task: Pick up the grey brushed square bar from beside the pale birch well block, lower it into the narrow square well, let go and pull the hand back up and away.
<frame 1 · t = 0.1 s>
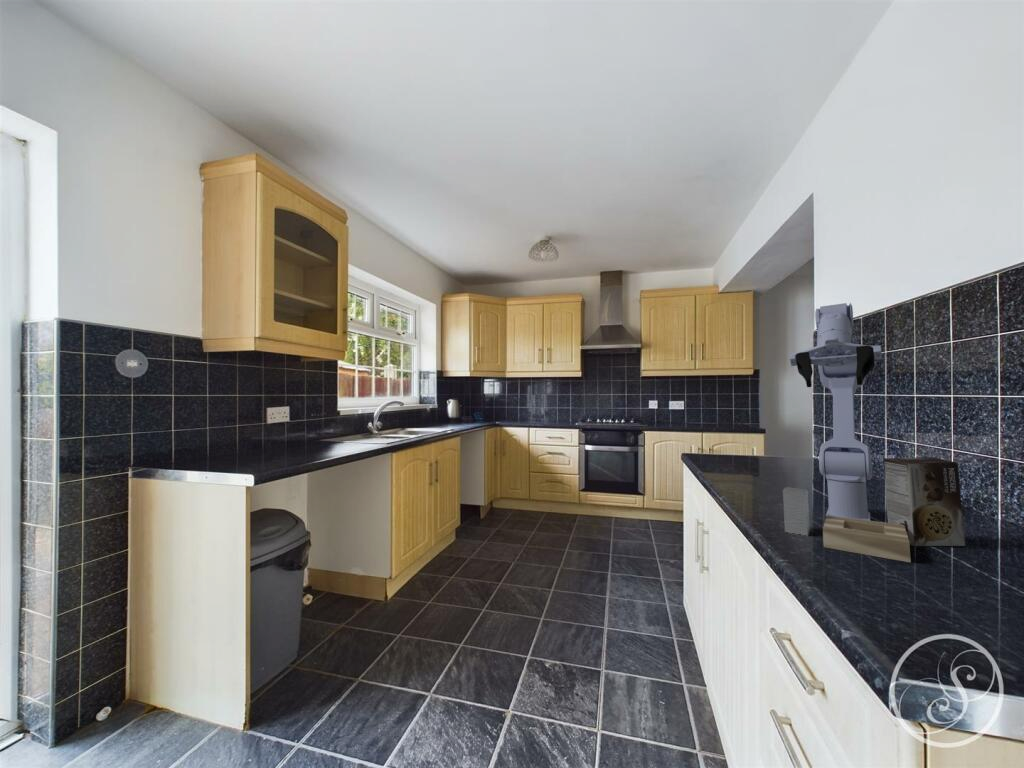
hand: (833, 382, 78), 32 cm above the table, tool tilted 50°, fingers open, 7 cm apart
coffee box: (924, 542, 80), on the table
well block: (864, 545, 78), on the table
grey brushed square bar: (797, 531, 87), on the table
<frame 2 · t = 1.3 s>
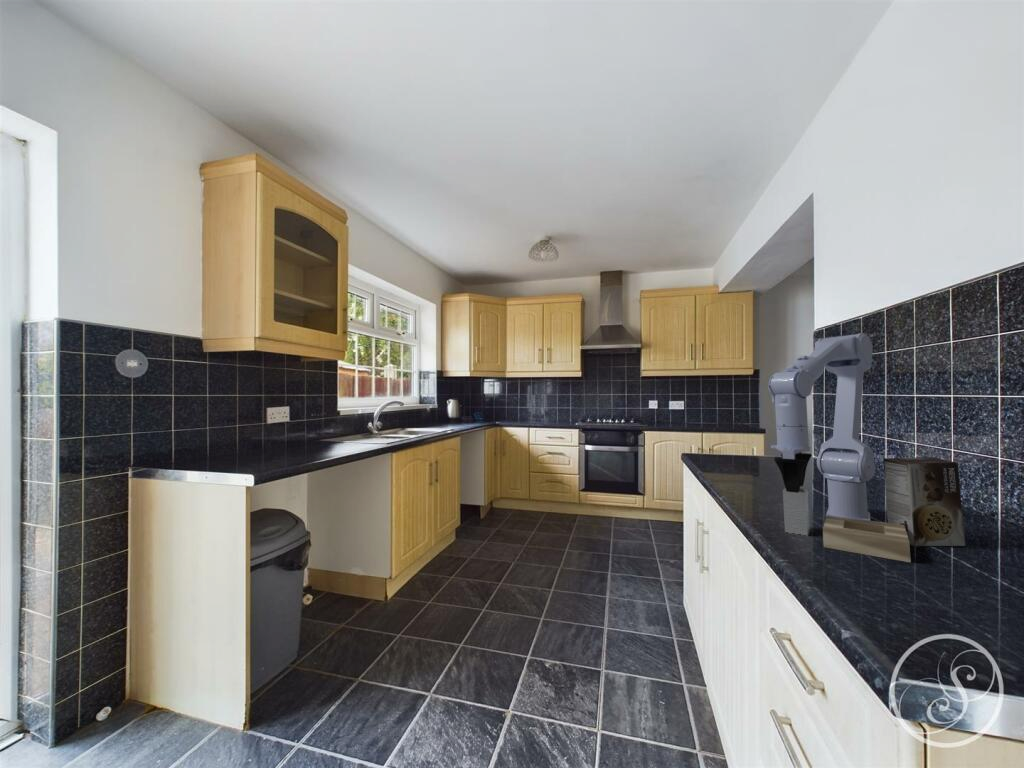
hand: (795, 488, 88), 9 cm above the table, tool pointing down, fingers open, 7 cm apart
nothing on the table moved.
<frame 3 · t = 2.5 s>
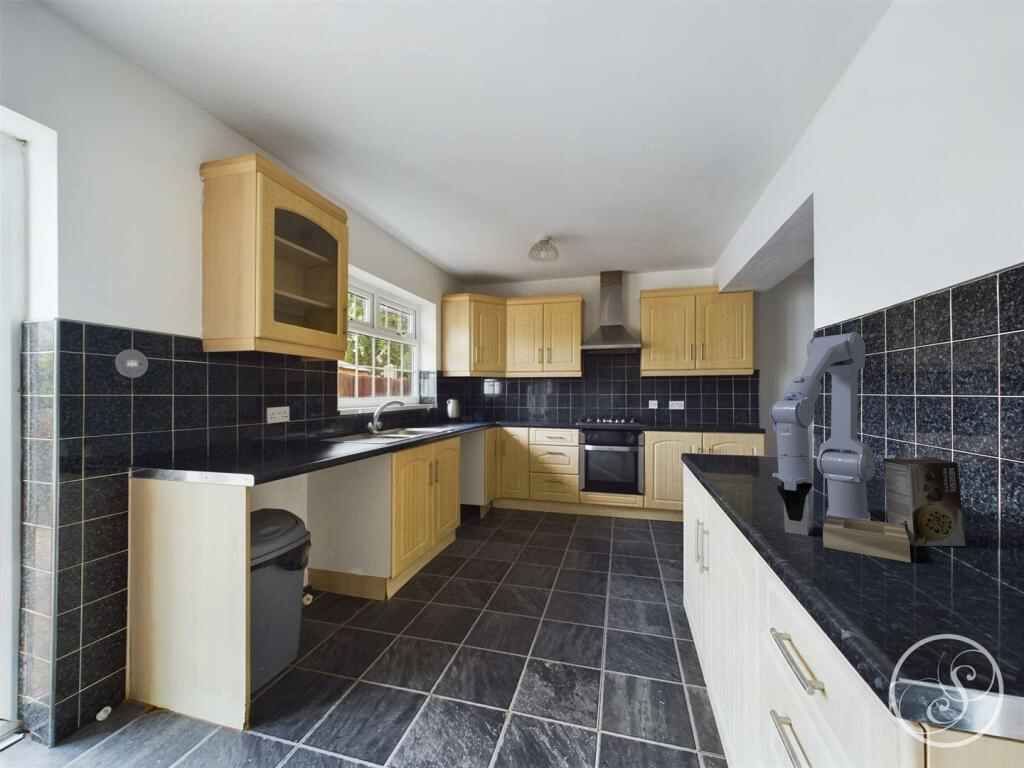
hand: (796, 518, 87), 3 cm above the table, tool pointing down, fingers closed on grey brushed square bar, 4 cm apart
grey brushed square bar: (797, 531, 87), on the table, touching gripper
everything else where it was.
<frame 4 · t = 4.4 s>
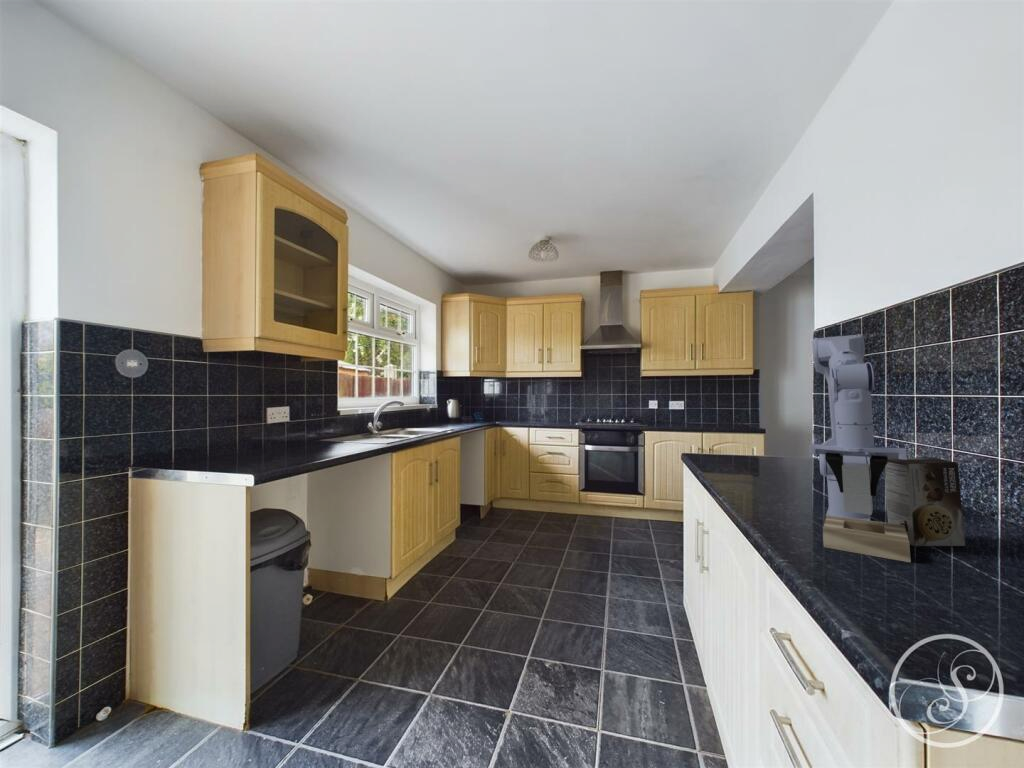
hand: (857, 493, 79), 10 cm above the table, tool pointing down, fingers closed on grey brushed square bar, 4 cm apart
grey brushed square bar: (858, 510, 79), point 7 cm above the table, touching gripper
everything else where it was.
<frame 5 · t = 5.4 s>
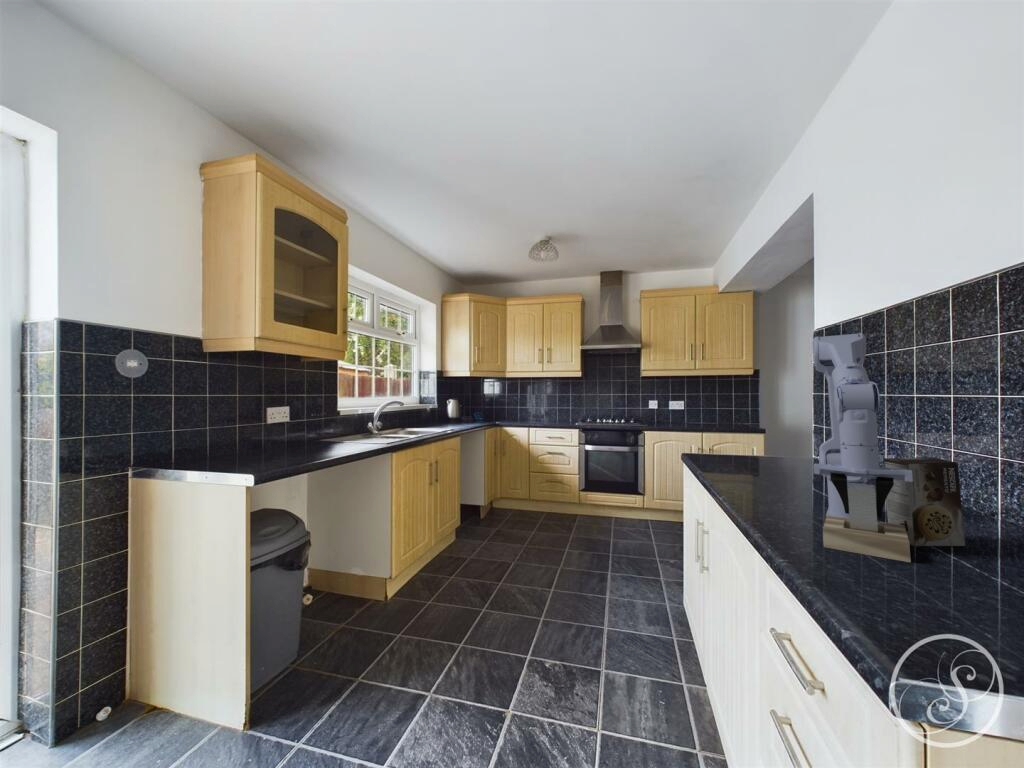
hand: (862, 514, 79), 6 cm above the table, tool pointing down, fingers closed on grey brushed square bar, 4 cm apart
grey brushed square bar: (864, 532, 78), point 3 cm above the table, touching gripper
everything else where it was.
when the fingers open (4 cm above the table, at t = 6.2 s): grey brushed square bar drops 1 cm, resting in well block.
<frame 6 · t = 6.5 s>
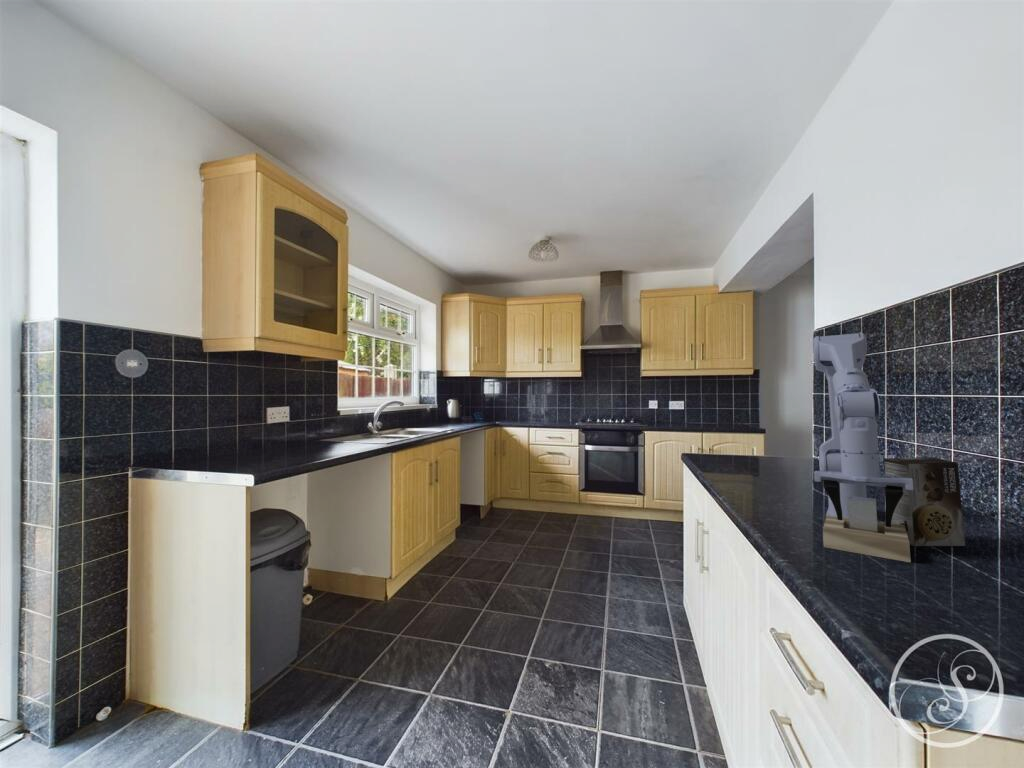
hand: (863, 522, 79), 4 cm above the table, tool pointing down, fingers open, 6 cm apart
grey brushed square bar: (864, 545, 78), resting in well block
everything else where it was.
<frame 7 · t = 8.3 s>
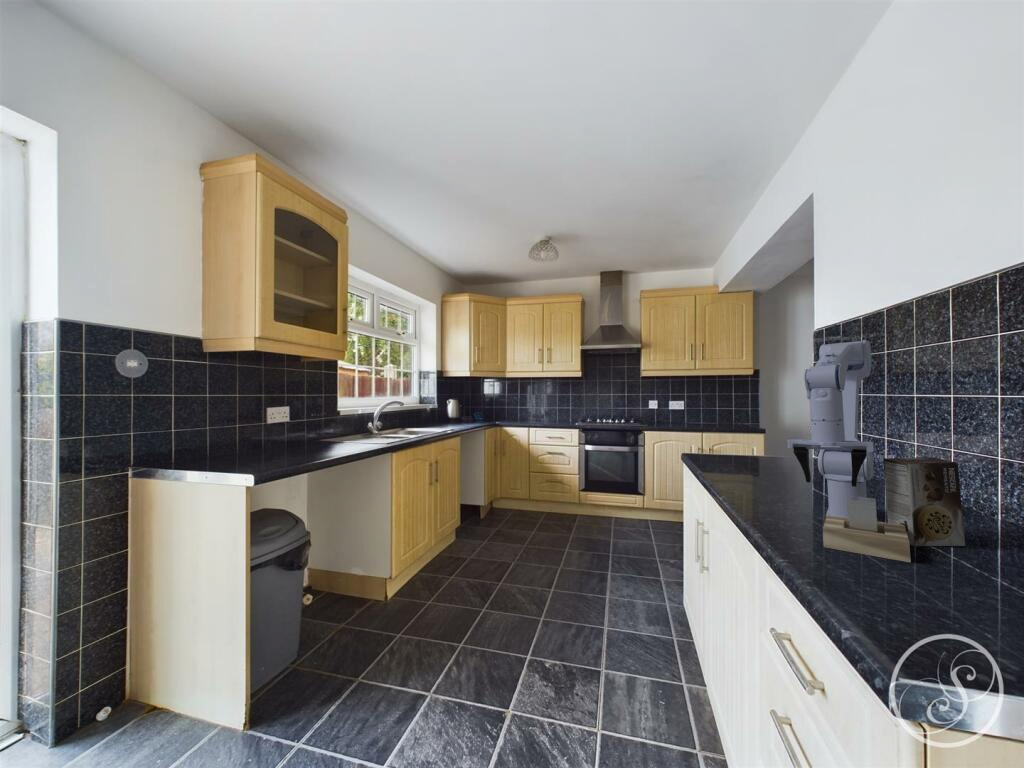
hand: (830, 483, 87), 10 cm above the table, tool pointing down, fingers open, 7 cm apart
nothing on the table moved.
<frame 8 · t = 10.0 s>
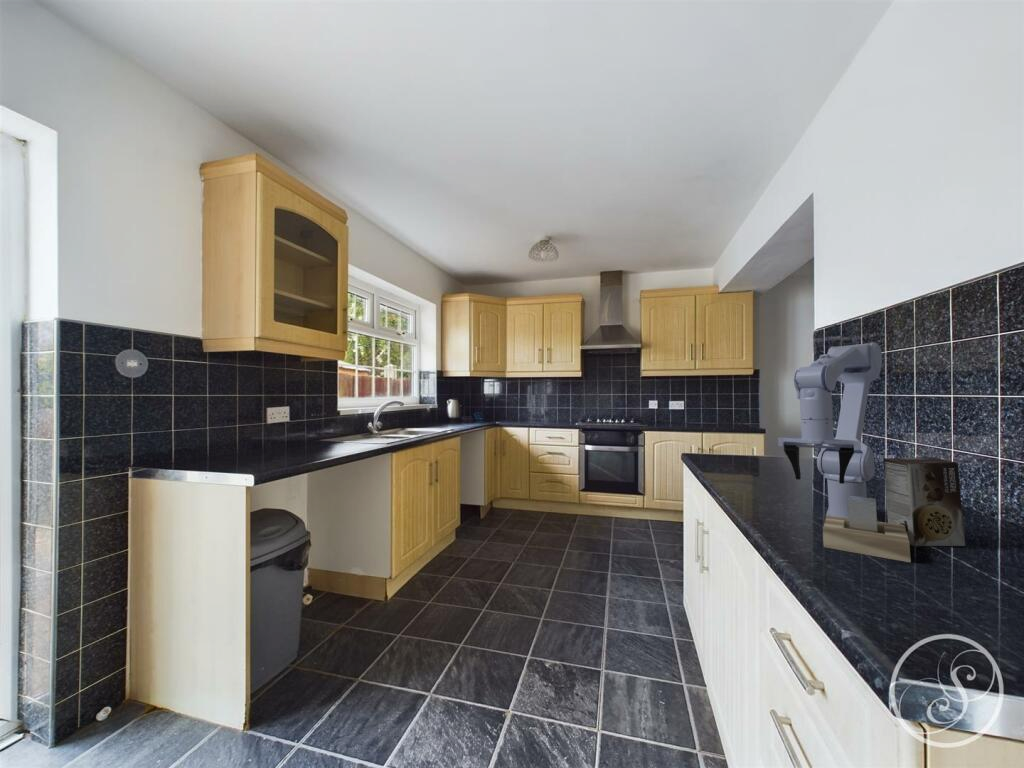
hand: (819, 480, 89), 10 cm above the table, tool pointing down, fingers open, 7 cm apart
nothing on the table moved.
at the end: grey brushed square bar 0.3 cm off-centre on the well block, point 0.0 cm above the well block's base; grey brushed square bar tilted 0°; the gripper is holding nothing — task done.
